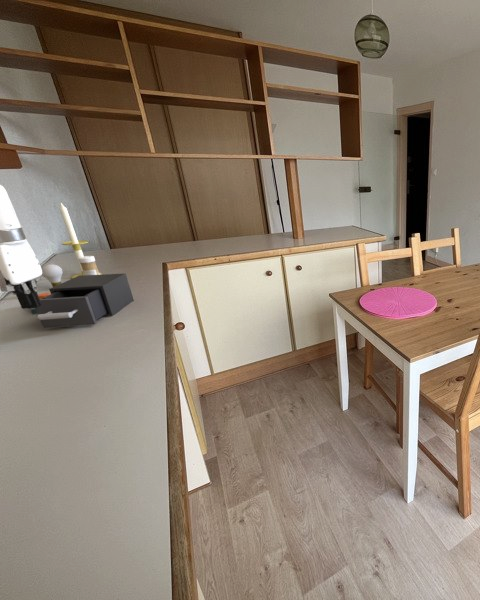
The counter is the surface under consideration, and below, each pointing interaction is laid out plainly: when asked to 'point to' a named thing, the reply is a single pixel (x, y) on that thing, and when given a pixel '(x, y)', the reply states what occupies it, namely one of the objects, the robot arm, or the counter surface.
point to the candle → (72, 237)
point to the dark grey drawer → (71, 308)
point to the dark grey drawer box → (102, 289)
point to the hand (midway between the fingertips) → (32, 307)
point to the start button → (43, 295)
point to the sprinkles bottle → (88, 265)
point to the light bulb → (52, 274)
